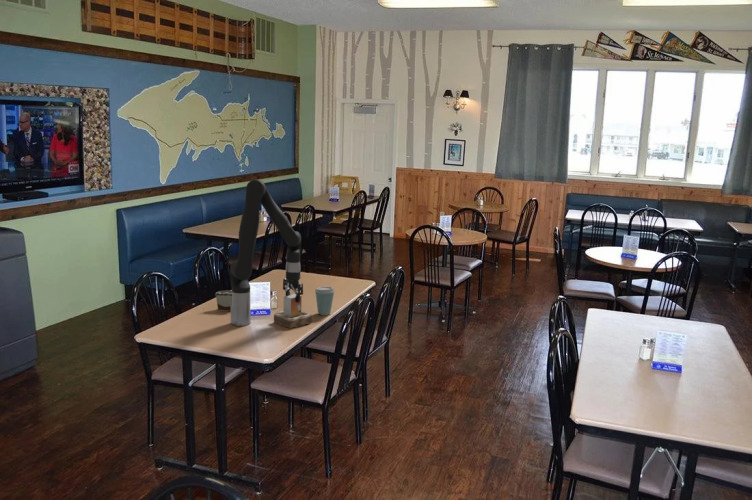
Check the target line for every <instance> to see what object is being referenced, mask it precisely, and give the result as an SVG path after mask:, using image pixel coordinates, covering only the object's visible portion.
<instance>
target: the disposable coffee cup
mask: <svg viewBox="0 0 752 500" xmlns="http://www.w3.org/2000/svg"><path fill="white" fill-rule="evenodd" d="M334 294H335V289H334V286H333V287H332V286H319V287H317V288H316V289H315V297H316V298H315V299H316V308H317V313H319V314H321V315H320V316H329V315H331V310H332V306H333V300H334ZM319 314H318V315H319ZM328 314H329V315H328Z"/></svg>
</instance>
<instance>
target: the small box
mask: <svg viewBox="0 0 752 500" xmlns="http://www.w3.org/2000/svg"><path fill="white" fill-rule="evenodd" d="M302 299H303V298H302V295H300V302H298V303H296V294H295V293H293V294H290V295H289V296H286V295H285V296H283V308H282V309H283V310H282V311H283V316H286V317H290V318H292V317H295V316H299V315H301V311H302Z"/></svg>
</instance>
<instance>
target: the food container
mask: <svg viewBox="0 0 752 500" xmlns="http://www.w3.org/2000/svg"><path fill="white" fill-rule="evenodd" d="M214 297H215V298H216V305H217V310H218V311H223V312H224V311H225V312H231V306H232V290H219V291H217V292H215V294H214Z"/></svg>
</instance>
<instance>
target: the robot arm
mask: <svg viewBox="0 0 752 500" xmlns="http://www.w3.org/2000/svg"><path fill="white" fill-rule="evenodd" d="M261 206H262V207H263V209H264V210H265V212H266V214H267V215H268V217H269V219H270V221H271V222H272V223H273V225H274V226H275V228H276V229H277V230H278V231H279V232H280V235H281V237H282V238H283V241H284V242H285V243H286V244H287V251H286V260H285V261H286V263H285V278H283V280H282V290H283V291H284V292H285V296H289V295H291V292H290V291H291V290H292V291H293V292H294V294H296V303H298V302H300V296H302V295H304V284H303V282H301V283H300V280H301V248H302V235H301V233H300V232H299V231H296V230H294V228H293V227H292V224H291V222H290V220H289V219H288V217H286V215H285V214H284V212H283V211H282V210H281V208H280V207H279V206H278V204H277V203H276V202H275V201H274V199H273V197H272V196H271V194H270V193H269V191H268V189H267V186H266V184H265V183H264V181H263V180H261V179H258V178H257V179H256V178H255V179H251V180H250V181H248V183H247V185H246V189H245V201H244V208H243V211H242V216H241V219H240V224H239V230H238V246H239V251H238V252H239V253H238V257H237V259H236V260H234V261H233V262H232V263H231V265H230V270H229V274H230V275H229V276H230V277H229V279H230V285H231V291H232V306H231V311H230V324H231V325H233V326H236V327H239V326H240V327H241V326H243V327H244V326H248V325H250V324H251V319H252V318H251V285H250V282H249V278H250V277H251V275H252V273H253V262H254V261H253V260H254V251H255V248H256V241H257V237H258V232H259V226H260V207H261Z"/></svg>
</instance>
